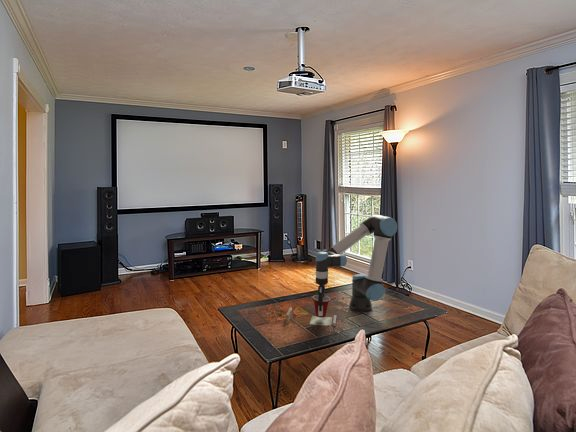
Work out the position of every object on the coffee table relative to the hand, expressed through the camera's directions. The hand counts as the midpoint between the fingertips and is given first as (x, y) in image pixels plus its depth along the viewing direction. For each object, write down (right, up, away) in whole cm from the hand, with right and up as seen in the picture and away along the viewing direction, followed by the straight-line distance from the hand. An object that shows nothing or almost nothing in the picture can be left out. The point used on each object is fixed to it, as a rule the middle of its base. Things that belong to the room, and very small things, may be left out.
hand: (321, 312), depth 235 cm
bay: (-6, -5, +2) cm, 8 cm away
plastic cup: (0, -2, 0) cm, 2 cm away
